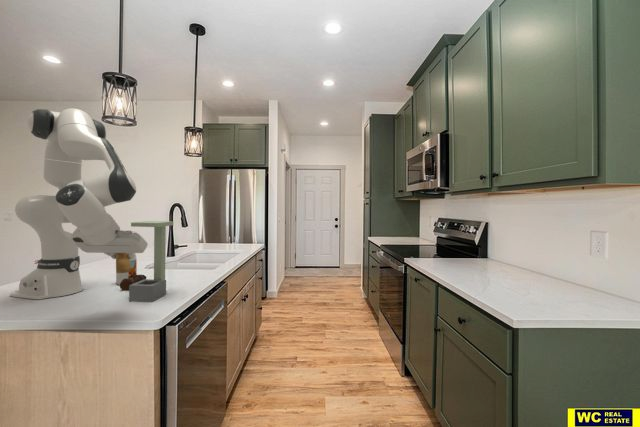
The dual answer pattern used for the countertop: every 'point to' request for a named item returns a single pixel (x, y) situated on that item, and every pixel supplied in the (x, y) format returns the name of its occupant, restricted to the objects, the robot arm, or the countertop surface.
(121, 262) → the peg
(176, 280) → the countertop surface
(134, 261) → the milk bottle
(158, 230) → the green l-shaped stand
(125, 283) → the bolt
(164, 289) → the socket
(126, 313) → the countertop surface
